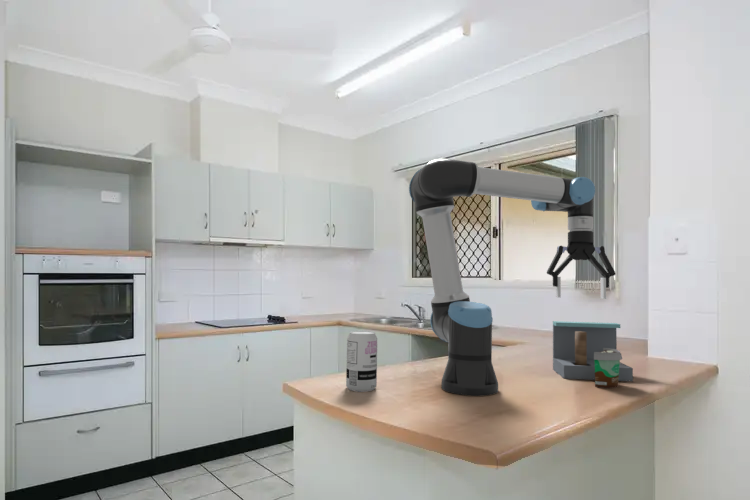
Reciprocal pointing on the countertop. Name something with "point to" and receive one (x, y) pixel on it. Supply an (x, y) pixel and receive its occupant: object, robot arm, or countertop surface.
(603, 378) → the food container
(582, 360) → the peg
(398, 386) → the countertop surface
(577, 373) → the socket
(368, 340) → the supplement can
